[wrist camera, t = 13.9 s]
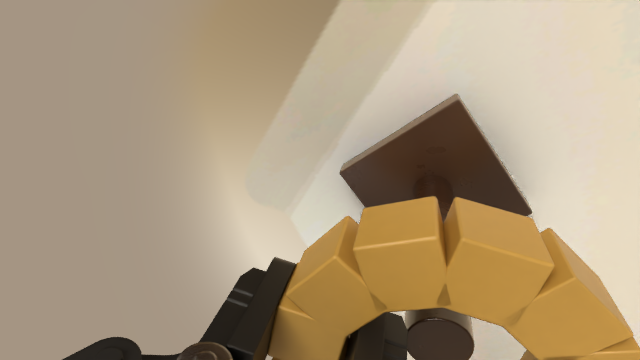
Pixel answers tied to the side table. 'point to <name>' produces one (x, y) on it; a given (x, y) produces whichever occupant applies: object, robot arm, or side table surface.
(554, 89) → the side table surface
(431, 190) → the post
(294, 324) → the ring
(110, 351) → the robot arm
